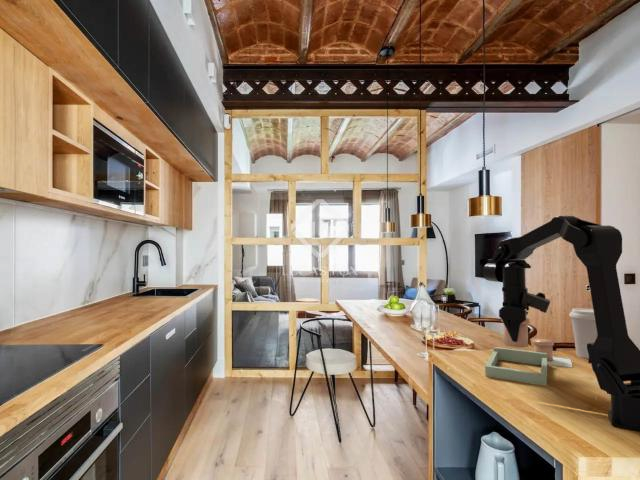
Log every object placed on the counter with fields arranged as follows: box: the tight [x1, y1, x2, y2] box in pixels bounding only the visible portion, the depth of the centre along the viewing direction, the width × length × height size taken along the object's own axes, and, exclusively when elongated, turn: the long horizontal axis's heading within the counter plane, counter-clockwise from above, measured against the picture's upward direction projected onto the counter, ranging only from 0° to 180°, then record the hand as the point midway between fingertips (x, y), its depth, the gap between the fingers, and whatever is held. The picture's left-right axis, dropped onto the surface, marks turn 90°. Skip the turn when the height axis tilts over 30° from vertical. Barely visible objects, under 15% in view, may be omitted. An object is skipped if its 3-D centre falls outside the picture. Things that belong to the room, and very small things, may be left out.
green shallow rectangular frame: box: [484, 346, 548, 387], centre depth 99 cm, size 18×14×4 cm
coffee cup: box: [569, 307, 597, 360], centre depth 110 cm, size 10×10×15 cm
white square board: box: [547, 355, 573, 369], centre depth 108 cm, size 10×12×1 cm
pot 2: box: [532, 337, 555, 361], centre depth 109 cm, size 6×6×6 cm
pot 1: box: [500, 317, 531, 349], centre depth 100 cm, size 7×7×7 cm
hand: (515, 339), depth 100 cm, fingers closed on pot 1, 6 cm apart
